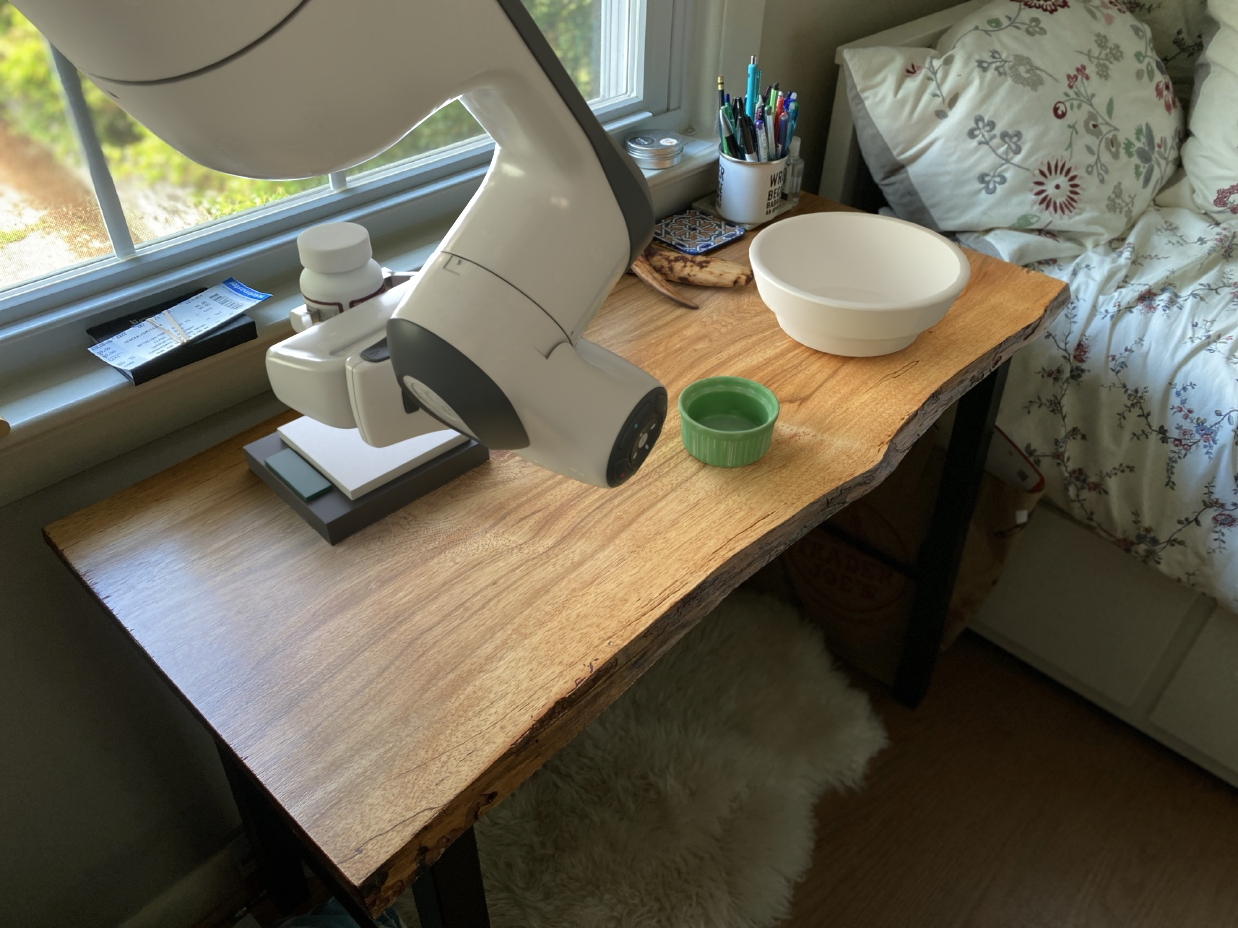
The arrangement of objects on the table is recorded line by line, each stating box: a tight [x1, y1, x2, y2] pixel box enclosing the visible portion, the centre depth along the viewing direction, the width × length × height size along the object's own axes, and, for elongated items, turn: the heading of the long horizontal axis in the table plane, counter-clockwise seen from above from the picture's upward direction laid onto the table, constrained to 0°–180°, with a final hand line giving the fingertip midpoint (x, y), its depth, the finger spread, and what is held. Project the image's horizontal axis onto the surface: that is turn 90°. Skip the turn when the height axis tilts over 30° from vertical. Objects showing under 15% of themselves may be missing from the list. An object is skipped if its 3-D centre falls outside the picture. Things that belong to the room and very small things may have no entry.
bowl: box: [748, 211, 971, 358], centre depth 99 cm, size 22×22×8 cm
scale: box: [242, 415, 491, 547], centre depth 82 cm, size 16×14×3 cm
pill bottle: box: [296, 221, 386, 322], centre depth 72 cm, size 6×6×11 cm
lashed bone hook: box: [626, 242, 755, 310], centre depth 108 cm, size 9×5×18 cm
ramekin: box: [677, 375, 781, 468], centre depth 84 cm, size 9×9×4 cm
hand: (338, 297), depth 72 cm, fingers closed on pill bottle, 6 cm apart
